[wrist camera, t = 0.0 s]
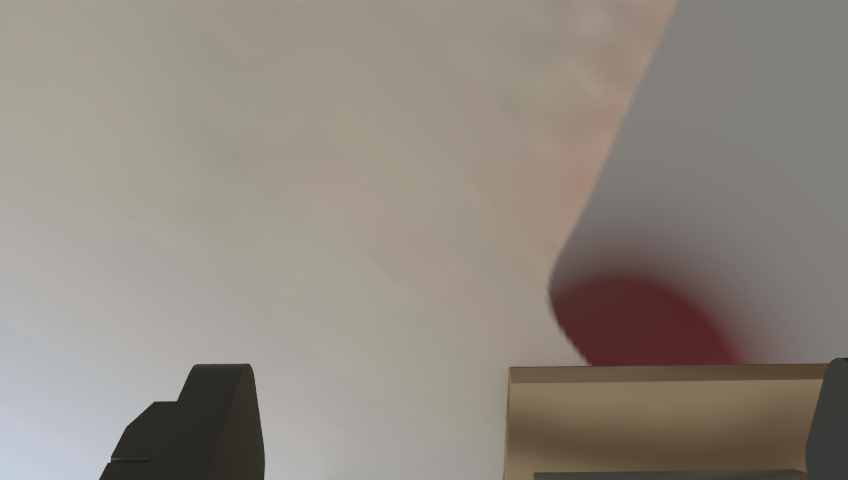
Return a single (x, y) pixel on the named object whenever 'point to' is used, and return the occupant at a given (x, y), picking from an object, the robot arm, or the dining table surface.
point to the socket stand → (660, 422)
